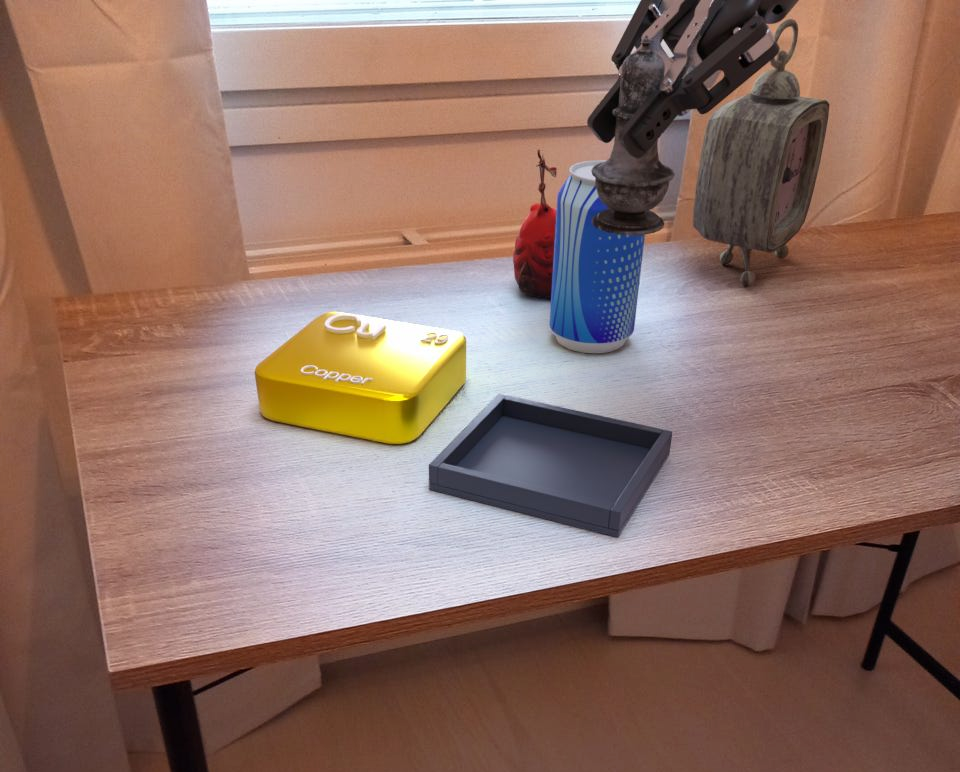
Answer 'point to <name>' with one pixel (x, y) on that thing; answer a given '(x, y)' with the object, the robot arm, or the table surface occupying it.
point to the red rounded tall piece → (536, 244)
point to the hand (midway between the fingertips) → (612, 140)
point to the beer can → (591, 271)
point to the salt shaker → (623, 176)
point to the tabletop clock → (760, 164)
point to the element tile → (362, 377)
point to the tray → (553, 463)
